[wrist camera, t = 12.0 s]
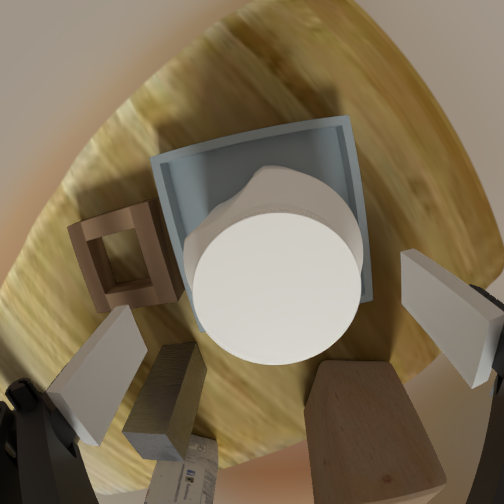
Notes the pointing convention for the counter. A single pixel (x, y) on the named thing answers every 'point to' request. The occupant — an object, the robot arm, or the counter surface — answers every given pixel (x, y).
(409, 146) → the counter surface
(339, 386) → the wooden block
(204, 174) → the tray
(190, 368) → the grey block
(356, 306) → the jar
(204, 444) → the juice carton
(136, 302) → the hollow square tube
